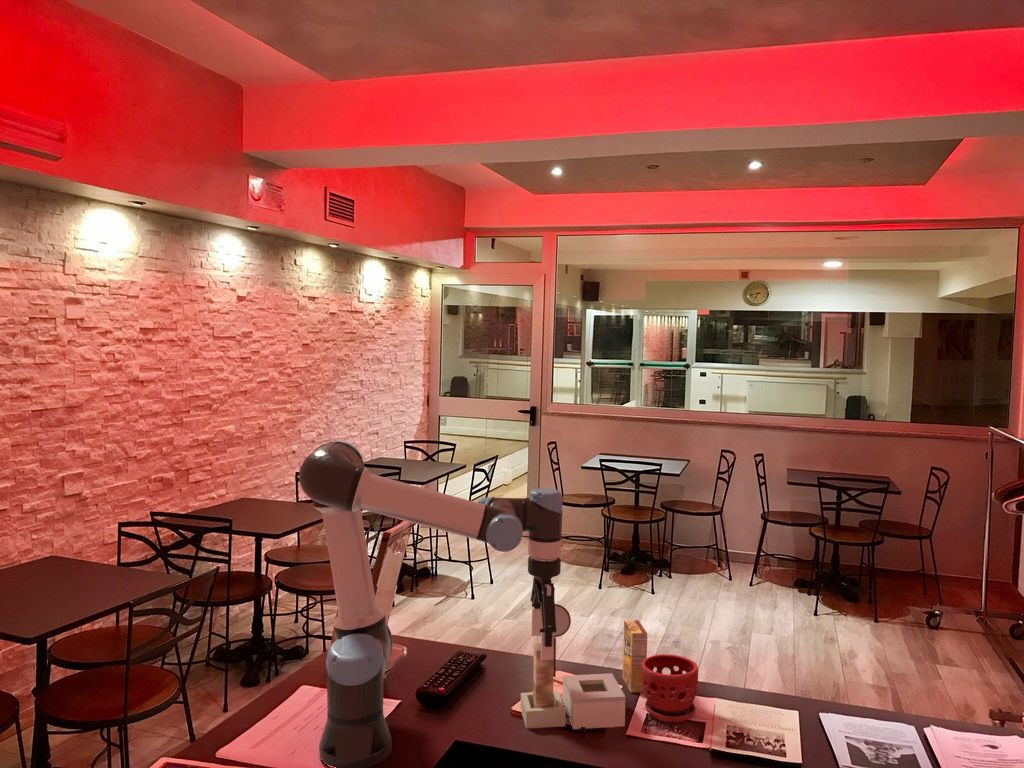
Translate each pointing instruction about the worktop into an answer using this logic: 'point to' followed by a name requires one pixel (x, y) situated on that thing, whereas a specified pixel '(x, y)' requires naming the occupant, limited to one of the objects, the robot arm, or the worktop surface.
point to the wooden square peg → (542, 679)
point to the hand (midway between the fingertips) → (541, 647)
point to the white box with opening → (594, 701)
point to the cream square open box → (542, 712)
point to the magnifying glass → (560, 626)
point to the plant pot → (669, 687)
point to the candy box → (634, 654)
